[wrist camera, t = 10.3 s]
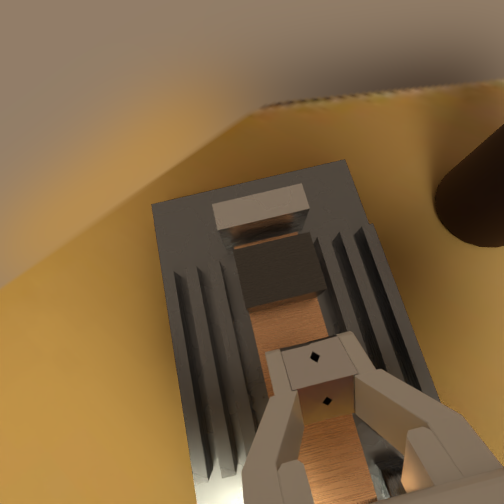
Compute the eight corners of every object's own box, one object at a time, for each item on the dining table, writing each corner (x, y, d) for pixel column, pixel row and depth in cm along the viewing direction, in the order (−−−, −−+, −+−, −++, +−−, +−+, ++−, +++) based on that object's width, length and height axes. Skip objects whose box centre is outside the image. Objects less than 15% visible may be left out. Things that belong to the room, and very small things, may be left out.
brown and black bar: (412, 559, 11) (303, 211, 15) (309, 587, 11) (227, 229, 15) (373, 501, 15) (295, 237, 19) (297, 520, 15) (235, 252, 19)
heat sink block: (447, 497, 18) (547, 586, 11) (221, 557, 17) (196, 682, 11) (335, 180, 24) (360, 125, 17) (165, 220, 23) (129, 178, 17)
